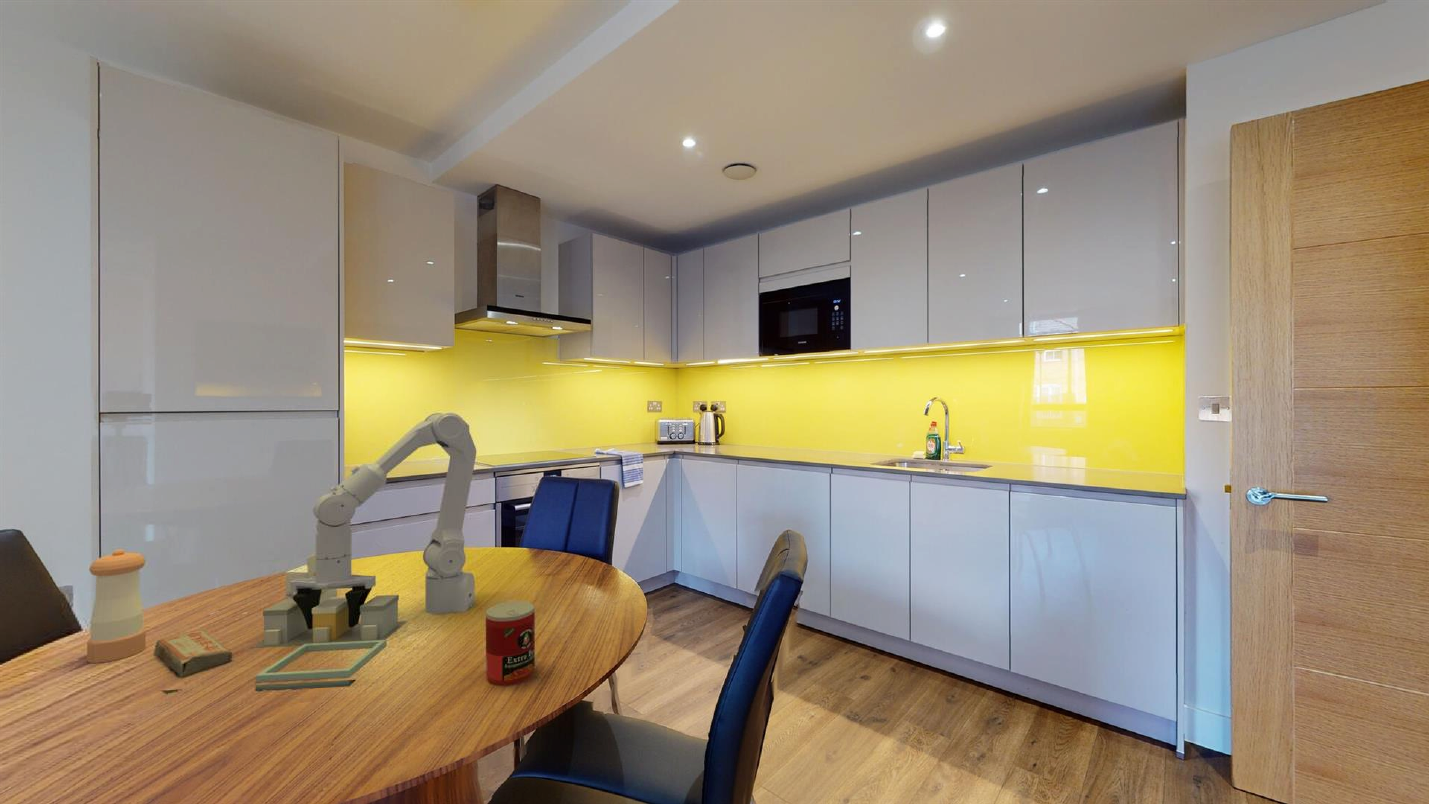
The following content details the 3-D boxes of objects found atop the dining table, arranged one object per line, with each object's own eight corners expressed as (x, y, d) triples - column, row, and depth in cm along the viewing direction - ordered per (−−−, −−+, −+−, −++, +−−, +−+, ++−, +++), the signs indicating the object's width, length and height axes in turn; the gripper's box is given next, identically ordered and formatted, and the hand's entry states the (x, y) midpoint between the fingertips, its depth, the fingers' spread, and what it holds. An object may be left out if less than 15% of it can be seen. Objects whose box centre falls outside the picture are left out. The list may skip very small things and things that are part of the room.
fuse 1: (308, 628, 108) (308, 598, 108) (287, 642, 102) (287, 609, 102) (285, 630, 107) (285, 599, 107) (262, 643, 101) (263, 610, 101)
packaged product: (139, 641, 96) (213, 623, 104) (138, 669, 96) (213, 648, 104) (165, 667, 85) (245, 644, 94) (164, 698, 85) (245, 673, 94)
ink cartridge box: (315, 613, 120) (316, 546, 121) (337, 613, 120) (338, 546, 121) (284, 628, 112) (284, 557, 112) (308, 628, 112) (308, 556, 112)
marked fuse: (353, 626, 109) (354, 596, 109) (335, 639, 102) (335, 607, 103) (331, 627, 108) (331, 597, 108) (311, 640, 102) (311, 608, 102)
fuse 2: (398, 624, 109) (398, 594, 110) (383, 637, 103) (383, 605, 103) (376, 625, 109) (376, 595, 109) (359, 638, 103) (359, 606, 103)
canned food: (506, 690, 86) (506, 620, 86) (475, 678, 90) (475, 611, 90) (545, 671, 92) (544, 605, 93) (514, 660, 97) (514, 597, 97)
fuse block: (407, 628, 111) (407, 608, 111) (383, 649, 101) (383, 627, 102) (287, 634, 109) (287, 613, 109) (249, 656, 99) (250, 634, 99)
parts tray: (386, 653, 100) (386, 639, 100) (349, 686, 88) (349, 670, 88) (304, 657, 98) (304, 643, 98) (255, 691, 86) (255, 675, 86)
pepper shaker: (132, 643, 105) (133, 544, 106) (154, 648, 103) (155, 546, 103) (77, 659, 98) (79, 553, 99) (100, 665, 96) (102, 556, 96)
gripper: (279, 562, 101) (278, 636, 101) (362, 559, 102) (361, 632, 102) (304, 553, 108) (303, 622, 108) (381, 550, 109) (381, 618, 109)
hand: (333, 626), depth 105 cm, fingers open, 7 cm apart
